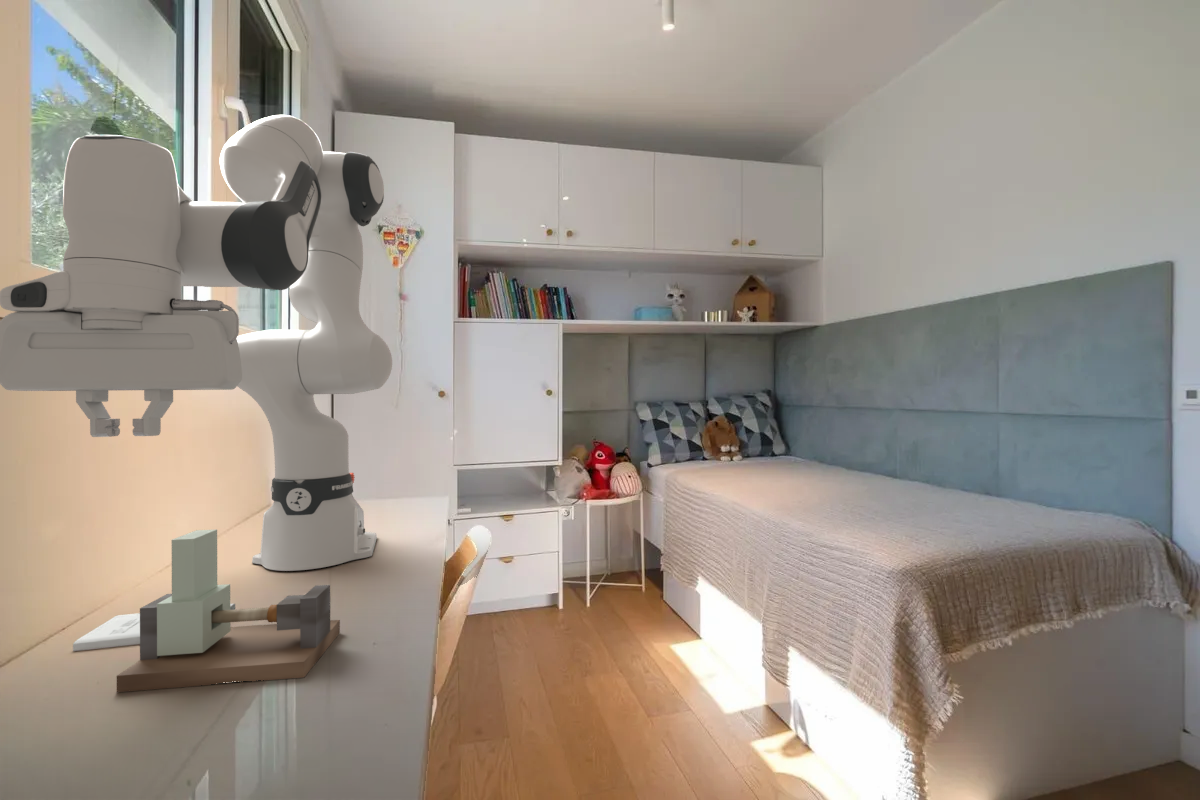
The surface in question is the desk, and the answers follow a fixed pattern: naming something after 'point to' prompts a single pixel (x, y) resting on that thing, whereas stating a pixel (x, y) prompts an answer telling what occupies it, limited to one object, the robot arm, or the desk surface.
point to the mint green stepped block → (192, 597)
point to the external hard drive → (114, 633)
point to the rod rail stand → (240, 646)
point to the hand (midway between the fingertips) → (126, 436)
